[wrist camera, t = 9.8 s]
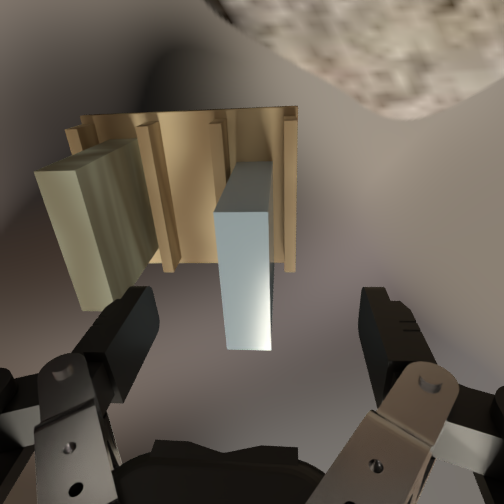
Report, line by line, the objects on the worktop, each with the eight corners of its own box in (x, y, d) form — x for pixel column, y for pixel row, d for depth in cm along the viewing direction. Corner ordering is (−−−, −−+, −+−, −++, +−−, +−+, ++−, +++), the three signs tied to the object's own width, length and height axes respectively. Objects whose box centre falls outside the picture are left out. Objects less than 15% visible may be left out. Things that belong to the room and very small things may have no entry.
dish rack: (297, 105, 22) (306, 127, 14) (295, 258, 27) (300, 334, 19) (84, 114, 23) (-14, 139, 15) (121, 259, 28) (63, 330, 20)
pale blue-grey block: (272, 161, 23) (268, 212, 15) (274, 265, 26) (271, 350, 19) (236, 162, 23) (213, 212, 15) (243, 265, 27) (227, 349, 19)
